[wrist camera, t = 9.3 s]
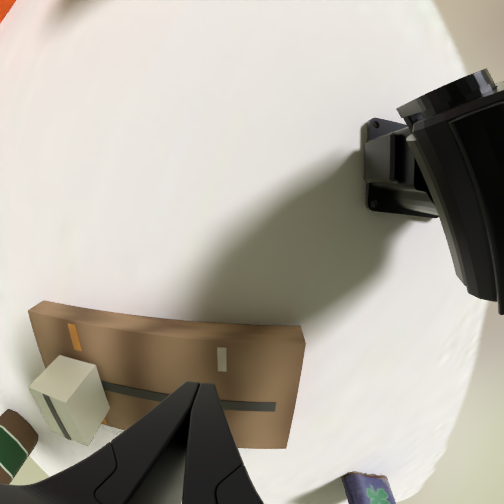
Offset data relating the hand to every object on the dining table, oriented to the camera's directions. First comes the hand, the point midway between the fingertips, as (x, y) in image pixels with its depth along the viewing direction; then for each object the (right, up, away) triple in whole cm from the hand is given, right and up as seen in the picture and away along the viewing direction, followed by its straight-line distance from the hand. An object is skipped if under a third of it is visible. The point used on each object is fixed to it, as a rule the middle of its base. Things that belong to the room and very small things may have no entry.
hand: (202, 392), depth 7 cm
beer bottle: (-37, -25, +19) cm, 48 cm away
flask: (+17, -27, +19) cm, 37 cm away
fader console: (-7, -7, +14) cm, 17 cm away
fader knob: (-13, -7, +11) cm, 19 cm away
